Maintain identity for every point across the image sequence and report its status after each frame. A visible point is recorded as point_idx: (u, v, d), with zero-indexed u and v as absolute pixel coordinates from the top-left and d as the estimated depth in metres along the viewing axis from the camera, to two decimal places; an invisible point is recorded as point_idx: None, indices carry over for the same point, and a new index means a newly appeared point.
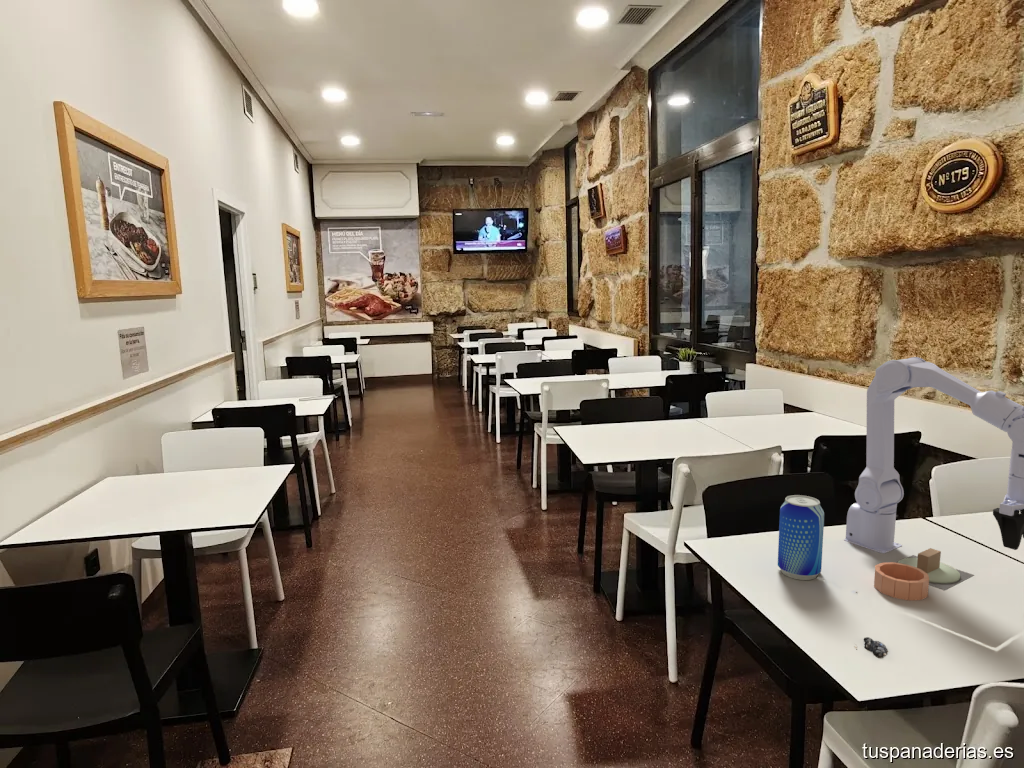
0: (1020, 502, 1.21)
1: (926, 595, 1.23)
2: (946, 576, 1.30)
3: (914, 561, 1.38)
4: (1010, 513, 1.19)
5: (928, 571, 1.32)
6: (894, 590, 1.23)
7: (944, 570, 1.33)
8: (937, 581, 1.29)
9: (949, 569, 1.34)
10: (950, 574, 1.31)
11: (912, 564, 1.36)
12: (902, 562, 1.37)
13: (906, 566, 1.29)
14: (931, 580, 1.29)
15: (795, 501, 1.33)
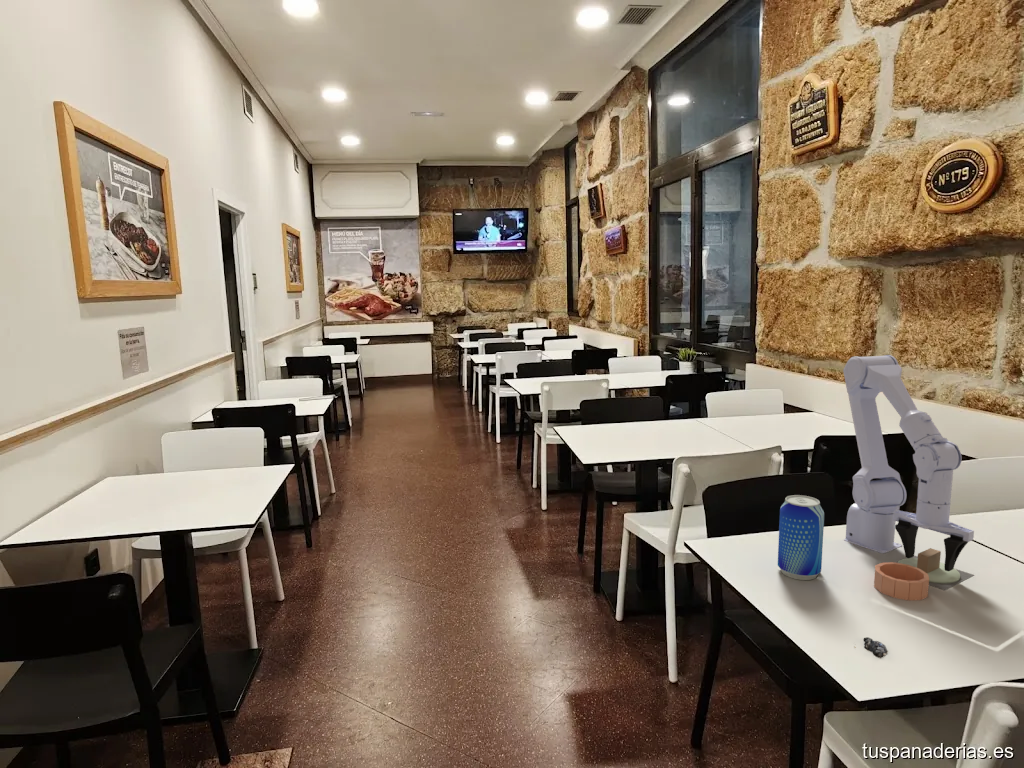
0: None
1: (926, 595, 1.23)
2: (946, 576, 1.30)
3: (914, 561, 1.38)
4: None
5: (928, 571, 1.32)
6: (894, 590, 1.23)
7: (944, 570, 1.33)
8: (937, 581, 1.29)
9: None
10: (950, 574, 1.31)
11: (912, 564, 1.36)
12: (902, 562, 1.37)
13: (906, 566, 1.29)
14: (931, 580, 1.29)
15: (795, 501, 1.33)
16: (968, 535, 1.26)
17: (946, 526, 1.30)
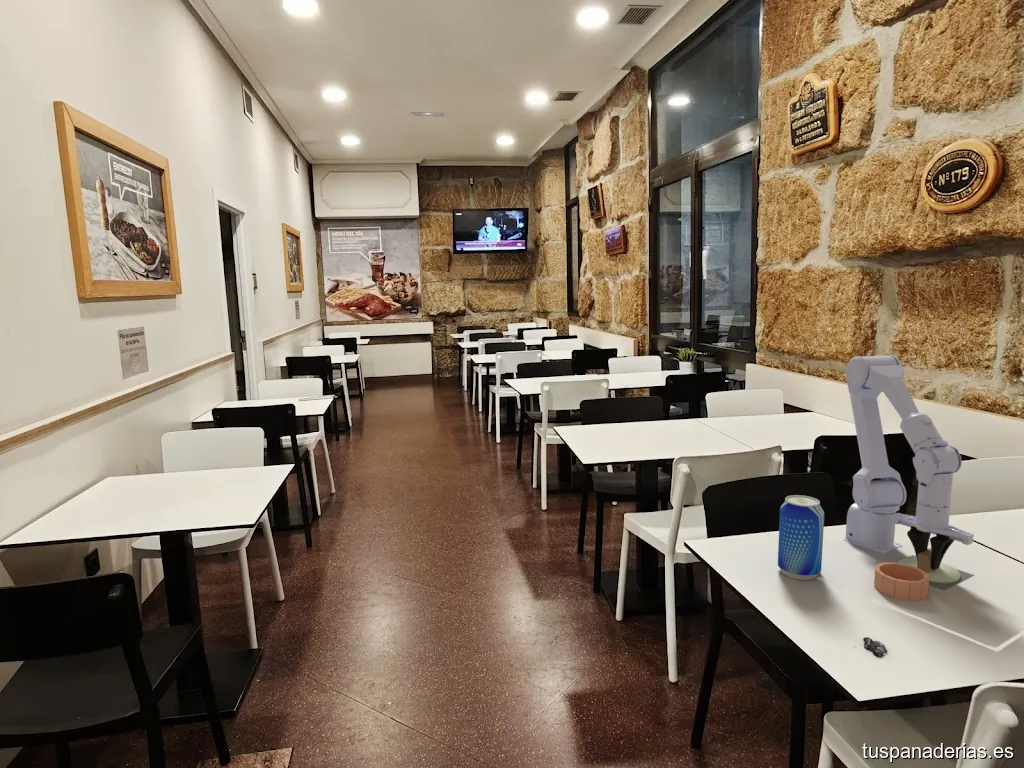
0: (915, 520, 1.35)
1: (926, 595, 1.23)
2: (946, 576, 1.30)
3: (914, 561, 1.38)
4: None
5: (928, 571, 1.32)
6: (894, 590, 1.23)
7: (944, 570, 1.33)
8: (937, 581, 1.29)
9: (949, 569, 1.33)
10: (950, 574, 1.31)
11: (912, 564, 1.36)
12: (902, 562, 1.37)
13: (906, 566, 1.29)
14: (931, 580, 1.29)
15: (795, 501, 1.33)
16: (967, 538, 1.26)
17: (946, 529, 1.30)
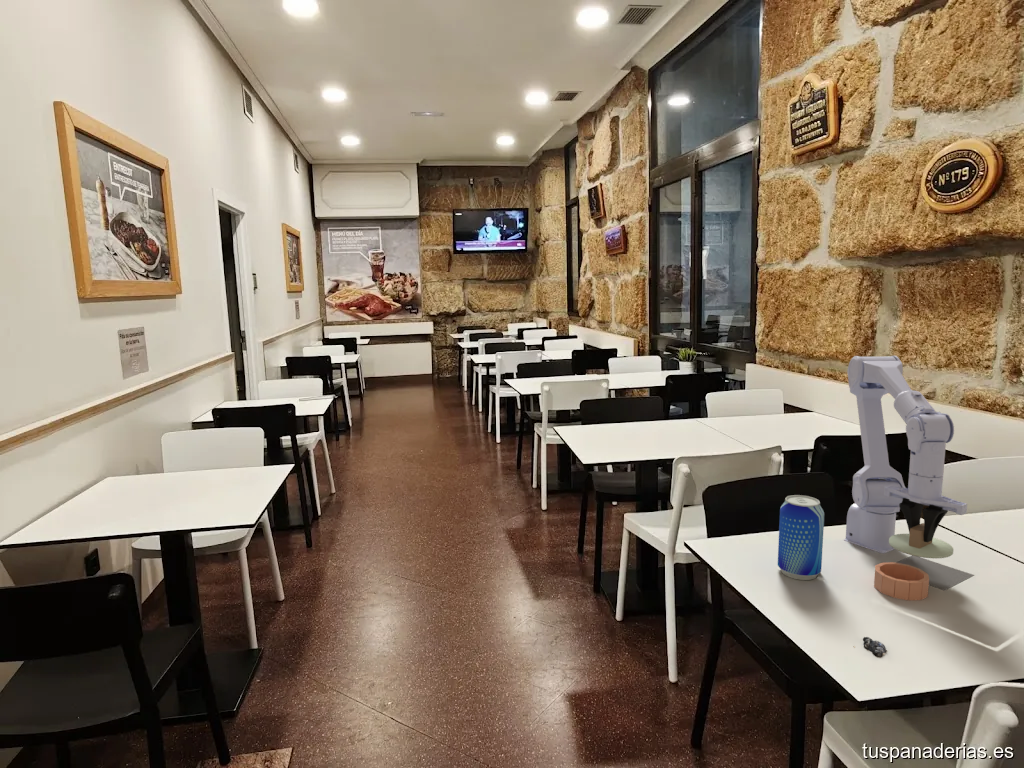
0: None
1: (926, 595, 1.23)
2: (939, 551, 1.26)
3: (906, 537, 1.33)
4: None
5: (920, 546, 1.28)
6: (894, 590, 1.23)
7: (937, 545, 1.29)
8: (930, 556, 1.25)
9: (941, 544, 1.29)
10: (943, 549, 1.27)
11: (904, 540, 1.32)
12: (894, 538, 1.33)
13: (906, 566, 1.29)
14: (924, 555, 1.25)
15: (795, 501, 1.33)
16: (961, 508, 1.22)
17: (939, 500, 1.26)
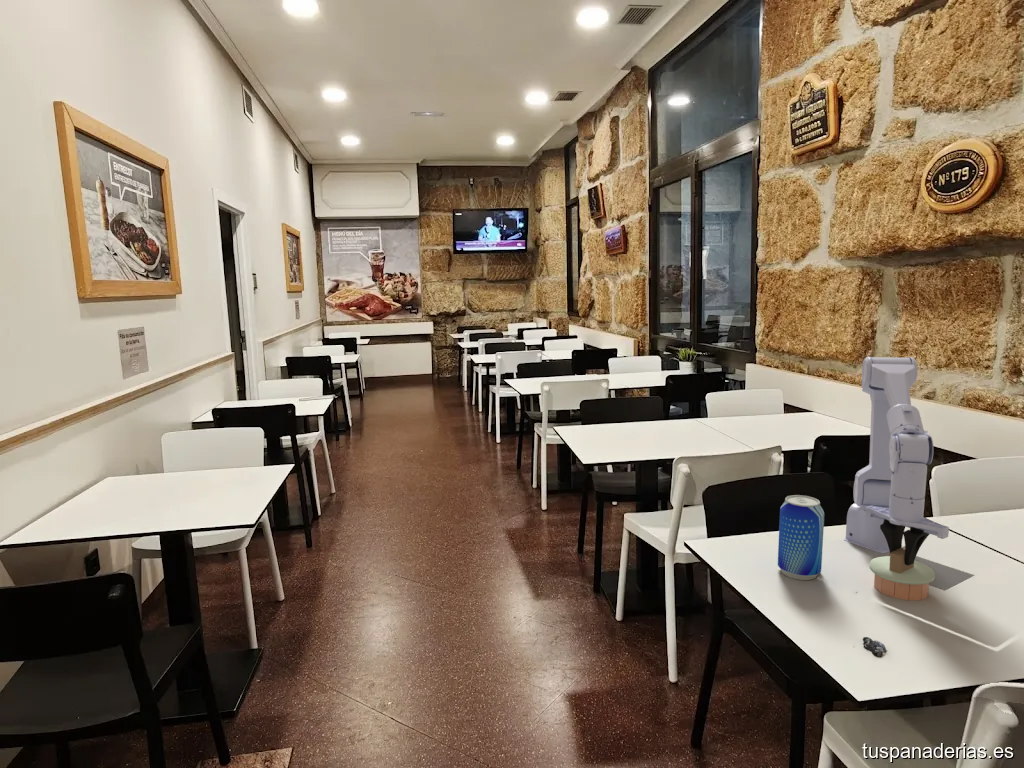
0: None
1: (926, 595, 1.23)
2: (920, 576, 1.23)
3: (888, 560, 1.30)
4: None
5: (901, 571, 1.24)
6: (894, 590, 1.23)
7: (918, 569, 1.25)
8: (910, 582, 1.21)
9: (923, 568, 1.26)
10: (924, 574, 1.23)
11: (885, 563, 1.28)
12: (875, 561, 1.29)
13: None
14: (904, 581, 1.21)
15: (795, 501, 1.33)
16: (942, 532, 1.18)
17: (920, 522, 1.22)
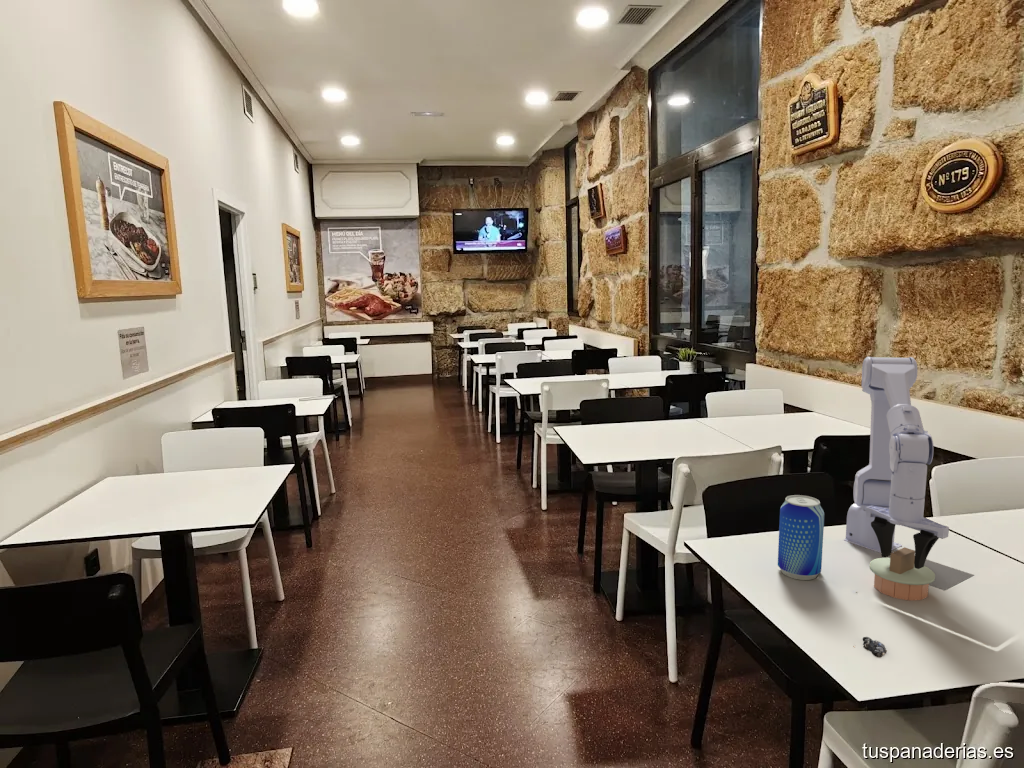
0: None
1: (926, 595, 1.23)
2: (920, 577, 1.23)
3: (888, 561, 1.30)
4: None
5: (901, 572, 1.24)
6: (894, 590, 1.23)
7: (918, 571, 1.25)
8: (910, 582, 1.21)
9: (923, 570, 1.26)
10: (924, 575, 1.23)
11: (885, 564, 1.28)
12: (875, 562, 1.29)
13: None
14: (904, 581, 1.21)
15: (795, 501, 1.33)
16: (942, 532, 1.18)
17: (920, 522, 1.22)
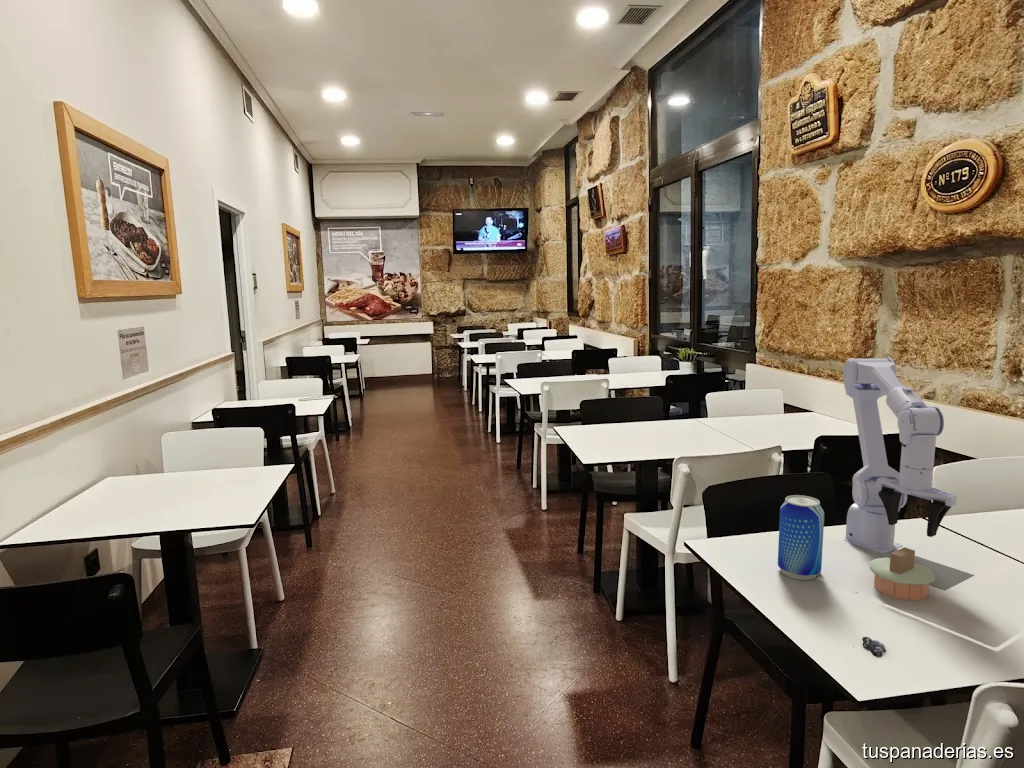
0: None
1: (926, 595, 1.23)
2: (920, 577, 1.23)
3: (888, 561, 1.30)
4: None
5: (901, 572, 1.24)
6: (894, 590, 1.23)
7: (918, 571, 1.25)
8: (910, 582, 1.21)
9: (923, 570, 1.26)
10: (924, 575, 1.23)
11: (885, 564, 1.28)
12: (875, 562, 1.29)
13: None
14: (904, 581, 1.21)
15: (795, 501, 1.33)
16: (950, 500, 1.25)
17: (929, 491, 1.28)
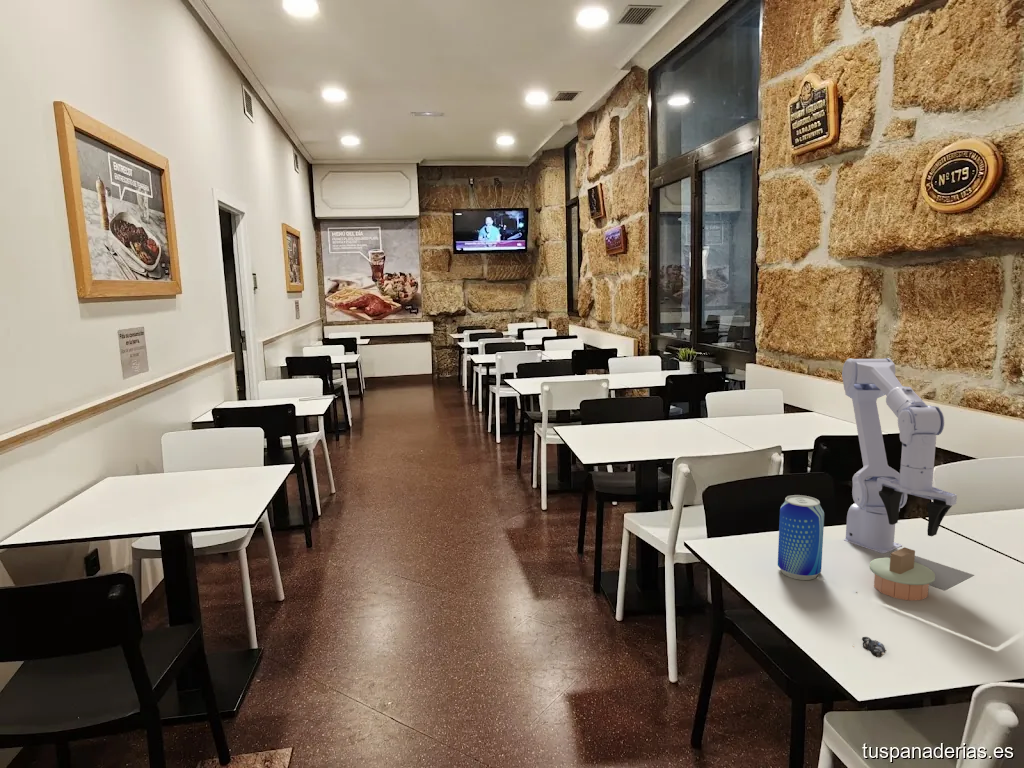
0: None
1: (926, 595, 1.23)
2: (920, 577, 1.23)
3: (888, 561, 1.30)
4: None
5: (901, 572, 1.24)
6: (894, 590, 1.23)
7: (918, 571, 1.25)
8: (910, 582, 1.21)
9: (923, 570, 1.26)
10: (924, 575, 1.23)
11: (885, 564, 1.28)
12: (875, 562, 1.29)
13: None
14: (904, 581, 1.21)
15: (795, 501, 1.33)
16: (951, 499, 1.25)
17: (929, 491, 1.28)
